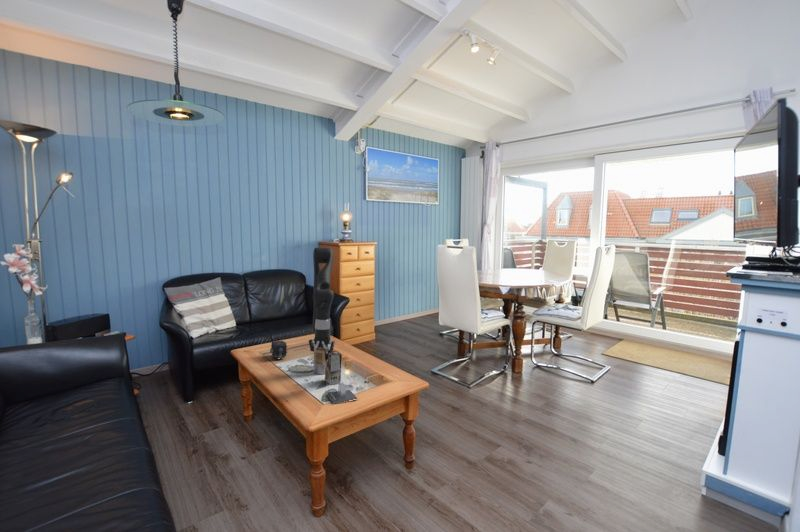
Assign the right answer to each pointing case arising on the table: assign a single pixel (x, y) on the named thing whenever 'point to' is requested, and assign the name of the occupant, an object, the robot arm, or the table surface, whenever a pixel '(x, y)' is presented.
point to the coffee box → (333, 368)
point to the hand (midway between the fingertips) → (321, 359)
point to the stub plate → (341, 399)
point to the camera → (278, 349)
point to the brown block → (319, 356)
